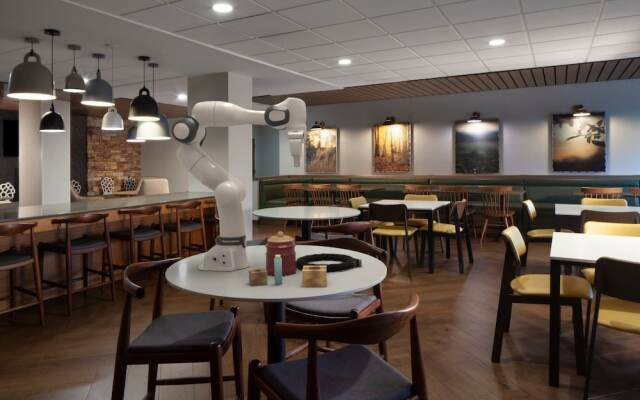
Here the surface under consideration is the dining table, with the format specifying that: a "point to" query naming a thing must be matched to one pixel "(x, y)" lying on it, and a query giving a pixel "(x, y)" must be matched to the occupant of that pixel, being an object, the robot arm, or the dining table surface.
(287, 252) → the canister
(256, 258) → the dining table surface
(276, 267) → the teal peg
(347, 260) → the cable lock
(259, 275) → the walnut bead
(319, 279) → the wooden square frame
